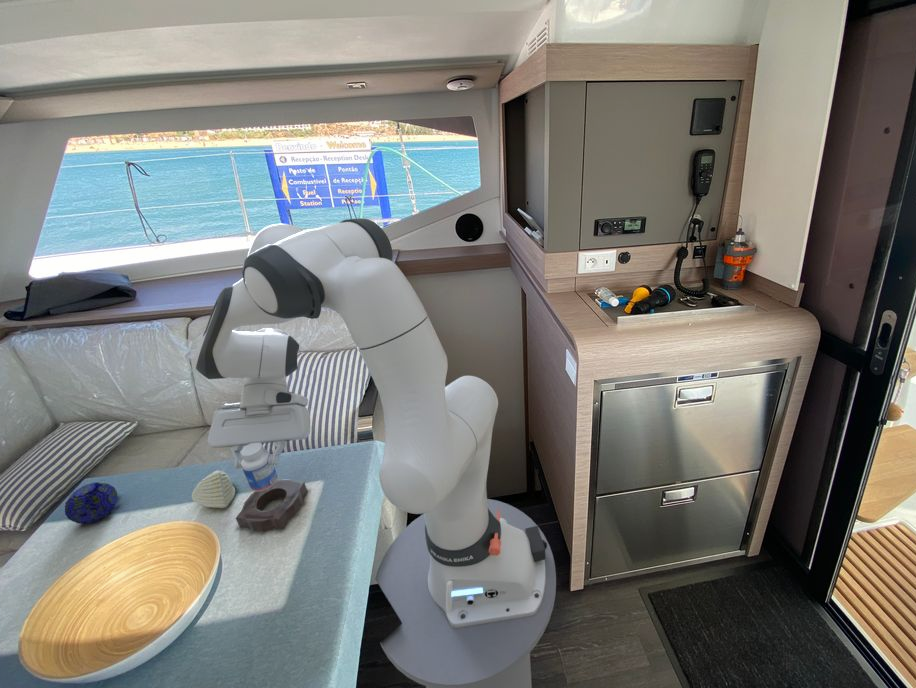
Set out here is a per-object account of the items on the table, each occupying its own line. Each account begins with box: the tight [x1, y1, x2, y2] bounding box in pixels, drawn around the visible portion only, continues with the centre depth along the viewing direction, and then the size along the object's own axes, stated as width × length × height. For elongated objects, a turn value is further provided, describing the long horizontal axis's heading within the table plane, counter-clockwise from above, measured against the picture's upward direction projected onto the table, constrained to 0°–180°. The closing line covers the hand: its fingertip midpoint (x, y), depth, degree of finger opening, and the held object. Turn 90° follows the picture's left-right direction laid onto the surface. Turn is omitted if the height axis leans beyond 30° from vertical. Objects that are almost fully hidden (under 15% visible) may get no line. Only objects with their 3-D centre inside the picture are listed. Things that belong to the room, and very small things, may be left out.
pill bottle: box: [240, 442, 279, 492], centre depth 89 cm, size 6×5×10 cm
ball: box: [64, 482, 119, 524], centre depth 94 cm, size 8×8×8 cm
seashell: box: [191, 469, 236, 509], centre depth 97 cm, size 8×8×8 cm
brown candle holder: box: [235, 478, 308, 532], centre depth 93 cm, size 11×11×3 cm
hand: (256, 466), depth 88 cm, fingers closed on pill bottle, 5 cm apart
